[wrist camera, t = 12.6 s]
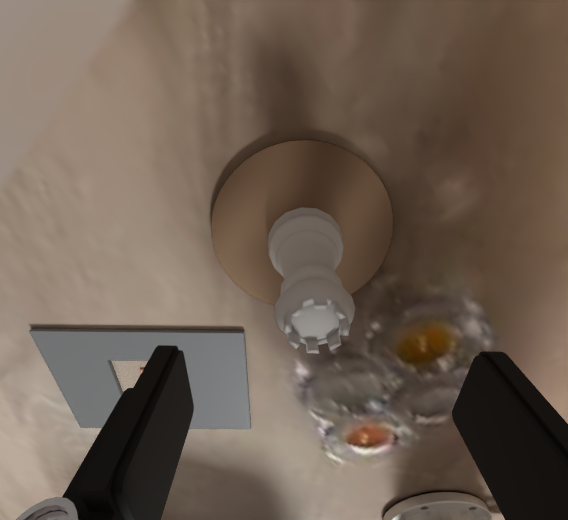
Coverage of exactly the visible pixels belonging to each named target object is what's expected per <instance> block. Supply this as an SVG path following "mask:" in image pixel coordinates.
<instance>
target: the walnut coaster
mask: <svg viewBox="0 0 568 520" xmlns="http://www.w3.org/2000/svg"><path fill="white" fill-rule="evenodd" d="M301 207H303V208H317V209H319V210H321V211H323V212H325V213H327V214H329V215H330V216H331V217H332V218H333V219H334V220H335V222H336V223H337V224H338V225H339V228H340V231H341V235H342V240H343V244H344V247H343V253H342V258H341V262H340V263H339V265H338V266H337V268H336V269H335V273H336V274H337V275H338V276H339V277H340V279H341V282H342V286H343V288H344V289H345V290H346V291H347V292H348V293H349V294H350V295H351V294H353V293H354V292H356V291H357V290H358V289H360V288H361V287H362V286H363V285H365V284H366V283H367V282H368V281H369V280H370V279H371V278H372V277H373V275H374V274H375V273H376V271H377V270H378V269H379V267H380V266H381V264H382V262H383V261H384V259H385V257H386V254H387V252H388V250H389V247H390V243H391V239H392V233H393V212H392V206H391V202H390V199H389V196H388V193H387V191H386V189H385V187H384V185H383V183H382V182H381V180H380V179H379V177H378V176H377V175H376V173H375V172H374V171H373V170H372V169H371V168H370V167H369V166H368V165H367V164H366V163H365V162H364V161H362V160H361V159H360V158H358V157H357V156H356V155H354V154H353V153H351V152H349V151H347V150H346V149H344V148H341V147H339V146H336V145H333V144H330V143H326V142H321V141H314V140H294V141H288V142H283V143H278V144H275V145H272V146H270V147H267V148H265V149H263V150H261V151H259V152H257V153H255V154H253V155H252V156H251V157H249V158H248V159H246V160H245V161H244V162H243V163H241V164H240V165H239V166H238V167H237V168H236V169H235V170H234V171H233V173H232V174H231V175H230V176H229V178H228V179H227V180H226V182H225V184H224V185H223V187H222V189H221V190H220V192H219V194H218V197H217V199H216V202H215V205H214V209H213V213H212V222H211V234H212V241H213V246H214V250H215V253H216V255H217V258H218V260H219V262H220V264H221V266H222V268H223V269H224V271H225V272H226V274H227V275H228V276H229V277H230V278H231V280H232V281H233V282H234V283H235V284H236V285H237V286H239V287H240V288H241V289H242V290H243V291H245V292H246V293H248V294H249V295H251V296H252V297H254V298H256V299H258V300H260V301H263V302H265V303H268V304H271V305H274V306H275V304H276V302H277V301H278V299H279V297H280V296H281V295H280V293H281V284H282V282H283V281H284V277H283V276H282V275H281V274H280V273H279V272H278V271H277V270H276V269H275V268H274V266H273V264H272V261H271V259H270V256H269V254H268V253H269V248H268V237H269V232H270V230H271V228H272V226H273V225H274V223H275V221H276V220H278V219H279V218H280V217H281V216H282V215H284V214H285V213H286V212H288V211H291V210H295V209H298V208H301Z"/></svg>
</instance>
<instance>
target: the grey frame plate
mask: <svg viewBox="0 0 568 520" xmlns="http://www.w3.org/2000/svg"><path fill="white" fill-rule="evenodd" d="M29 332H30V334H31V336H32V338H33V340H34V342H35V344H36V345H37V347H38V349H39V351H40V353H41V355H42V357H43V358H44V360H45V362H46V364H47V366H48V368H49V370H50V372H51V373H52V375H53V377H54V379H55V381H56V383H57V385H58V386H59V388H60V390H61V392H62V394H63V396H64V398H65V400H66V401H67V403H68V405H69V407H70V409H71V411H72V413H73V414H74V416H75V418H76V420H77V422H78V424H79V426H80V427H81V428H103V426H104V424H105V423H106V421H107V419H108V417H109V416H110V414H111V412H112V411H113V409H114V407H115V405H116V404H117V402H118V400H119V398H120V397H121V395H122V394H123V392H122V389H121V387H120V384H119V381H118V379H117V376H116V374H115V371H114V368H113V366H112V363H111V361H110V360H113V361H149V359H150V357H151V355H152V353H153V352H154V350H155V348H156V347H157V346H158V345H171V346H177V347H178V350H182V351H183V353H184V357H185V362H186V367H187V373H188V378H189V383H190V388H191V393H192V398H193V403H194V412H193V417H192V420H191V423H190V426H189V429H251V419H250V405H249V390H248V376H247V362H246V348H245V334H244V331H239V330H139V329H39V328H32V329H31V330H30V331H29ZM143 370H144V369H140V372H141V373H142V371H143Z"/></svg>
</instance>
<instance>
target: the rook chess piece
mask: <svg viewBox="0 0 568 520" xmlns="http://www.w3.org/2000/svg"><path fill="white" fill-rule="evenodd" d="M343 247H344V244H343V240H342V235H341V231H340V228H339V225H338V224H337V223H336V222H335V220H334V219H333V218H332V217H331V216H330V215H329V214H327V213H325V212H323V211H321V210H319V209H317V208H303V207H301V208H298V209H295V210H291V211H288V212H286V213H285V214H284V215H282V216H281V217H280V218H279V219H278V220H276V221H275V223H274V225H273V226H272V228H271V230H270V232H269V237H268V248H269V253H268V254H269V256H270V259H271V261H272V264H273V266H274V268H275V269H276V270H277V271H278V272H279V273H280V274H281V275H282V276H283V277H284V281H283V282H282V284H281V293H280V295H281V296H280V297H279V299H278V301H277V302H276V304H275V315H274V317H275V320H276V322H277V324H278V326H279V328H280V329H281V330H282V331H283V333H285V334H286V335H288V343H289V344H291V345H292V346H293V347H294V348H295V349H296V348H297V347H298V346H300V342H301V343H303V344H306V349H307V353H316V354H319V347H318V345H321V344H325V343H328V347H329V348H330V350H331V351H332V350H333V349H335V348H337V347H338V346H340V345H341V341H340V335H345V336H348V335H349V331H350V324H351V323H352V321H353V317H354V313H355V306H354V302H353V299H352V296H351V295H350V294H349V293H348V292H347V291H346V290H345V289H344V288H343V286H342V282H341V279H340V277H339V276H338V275H337V274H336V273H335V269H336V268H337V266H338V265H339V263H340V262H341V258H342V253H343Z"/></svg>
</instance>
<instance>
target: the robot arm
mask: <svg viewBox="0 0 568 520" xmlns="http://www.w3.org/2000/svg"><path fill="white" fill-rule="evenodd" d="M193 412H194V403H193V398H192V393H191V388H190V383H189V378H188V373H187V367H186V362H185V357H184V353H183V351H182V350H178V347H177V346H171V345H158V346H157V347H156V348H155V350H154V352H153V353H152V355H151V357H150V359H149V361H148V362H147V364H146V366H145V368H144V370H143V371H142V373H141V375H140V377H139V379H138V381H137V382H136V384H135V386H134V388H128V389H127V390H125V391H124V392H123V394H122V395H121V397H120V398H119V400H118V402H117V404H116V405H115V407H114V409H113V411H112V412H111V414H110V416H109V417H108V419H107V421H106V423H105V424H104V426H103V428H102V429H101V431H100V433H99V435H98V436H97V438H96V440H95V442H94V443H93V445H92V447H91V448H90V450H89V452H88V454H87V455H86V457H85V459H84V461H83V462H82V464H81V466H80V467H79V469H78V471H77V473H76V474H75V476H74V478H73V479H72V481H71V483H70V485H69V486H68V488H67V490H66V492H65V493H64V495H63V497H55V498H51V499H46V500H44V501H42V502H40V503H38V504H36V505H34V506H32V507H31V508H30V509H28V510H27V511H25V512H24V513H23V514H21V515H20V516H19V517H18V518H17V519H16V520H161V517H162V513H163V510H164V507H165V504H166V501H167V497H168V494H169V491H170V488H171V484H172V481H173V478H174V475H175V472H176V468H177V465H178V462H179V459H180V455H181V452H182V449H183V446H184V443H185V439H186V436H187V433H188V430H189V426H190V423H191V420H192V417H193ZM452 416H453V420H454V423H455V425H456V427H457V429H458V430H459V432H460V434H461V436H462V438H463V440H464V442H465V444H466V446H467V448H468V450H469V451H470V453H471V455H472V457H473V459H474V461H475V463H476V465H477V467H478V469H479V471H480V472H481V474H482V476H483V478H484V480H485V482H486V484H487V486H488V488H489V490H490V492H491V493H492V495H493V497H494V499H495V501H496V503H497V505H498V507H499V509H500V511H501V513H502V514H503V516H504V518H505V520H568V424H567V423H566V422H565V420H564V419H563V418H562V417H561V416H560V415H559V414H558V412H557V411H556V410H555V409H554V408H553V407H552V406H551V404H550V403H549V402H548V401H547V400H546V399H545V398H544V397H543V395H542V394H541V393H540V392H539V391H538V390H537V389H536V387H535V386H534V385H533V384H532V383H531V382H530V381H529V379H528V378H527V377H526V376H525V375H524V374H523V373H522V371H521V370H520V369H519V368H518V367H517V366H516V365H515V363H514V362H513V361H512V360H511V359H510V358H509V357H508V356H507V355H506V354H505V353H503V352H481V353H480V354H479V355H478V356H476V357H475V358H474V360H473V362H472V365H471V367H470V369H469V372H468V374H467V377H466V379H465V381H464V384H463V386H462V388H461V391H460V393H459V396H458V398H457V400H456V403H455V405H454V408H453V410H452ZM383 520H492V516H491V514H490V512H489V509H488V507H487V505H486V504H485V503H484V502H483V501H482V500H480V499H479V498H477V497H474V496H472V495H469V494H464V493H457V492H436V493H428V494H422V495H418V496H415V497H411V498H408V499H406V500H403V501H401V502H399V503H397V504H396V505H394V506H393V507H391V508H390V509H389V510H388V511H387V512H386V514H385V516H384V518H383Z"/></svg>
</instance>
